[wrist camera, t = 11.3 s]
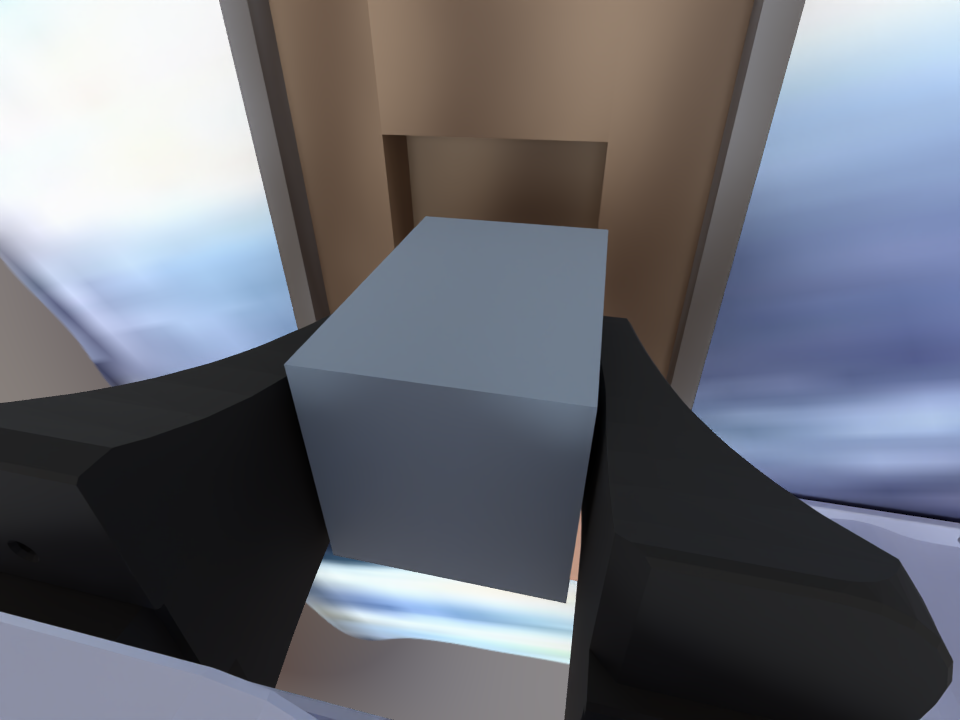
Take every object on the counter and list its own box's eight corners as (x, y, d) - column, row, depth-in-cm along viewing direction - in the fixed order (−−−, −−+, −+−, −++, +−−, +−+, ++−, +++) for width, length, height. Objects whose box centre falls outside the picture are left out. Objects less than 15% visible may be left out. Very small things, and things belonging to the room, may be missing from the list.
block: (608, 229, 11) (597, 406, 6) (586, 383, 13) (565, 603, 8) (425, 216, 12) (284, 363, 7) (435, 363, 14) (333, 554, 9)
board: (779, -30, 13) (823, -42, 10) (647, 502, 24) (650, 567, 21) (284, -17, 16) (210, -23, 13) (369, 457, 27) (339, 509, 24)
